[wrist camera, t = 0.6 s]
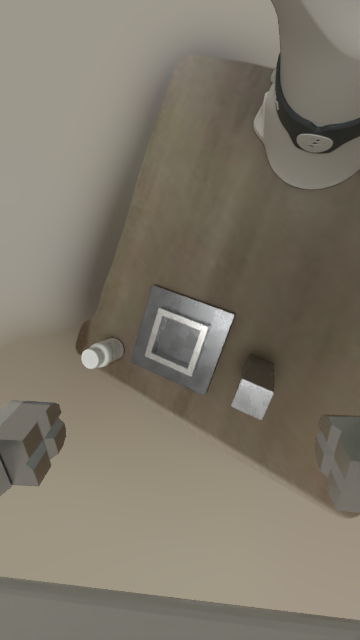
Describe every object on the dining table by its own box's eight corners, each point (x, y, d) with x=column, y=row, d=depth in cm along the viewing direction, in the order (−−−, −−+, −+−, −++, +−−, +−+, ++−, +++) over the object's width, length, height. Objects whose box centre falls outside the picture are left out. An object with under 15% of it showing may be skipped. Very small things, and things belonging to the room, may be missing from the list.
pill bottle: (104, 357, 55) (78, 369, 47) (105, 336, 54) (79, 344, 47) (123, 361, 53) (100, 374, 46) (125, 339, 53) (101, 348, 45)
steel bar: (249, 354, 45) (241, 378, 34) (273, 364, 44) (273, 392, 33) (241, 375, 46) (231, 406, 35) (264, 385, 45) (261, 420, 34)
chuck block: (155, 284, 49) (147, 285, 46) (235, 313, 45) (232, 316, 42) (133, 359, 53) (125, 364, 50) (206, 393, 49) (202, 399, 46)
